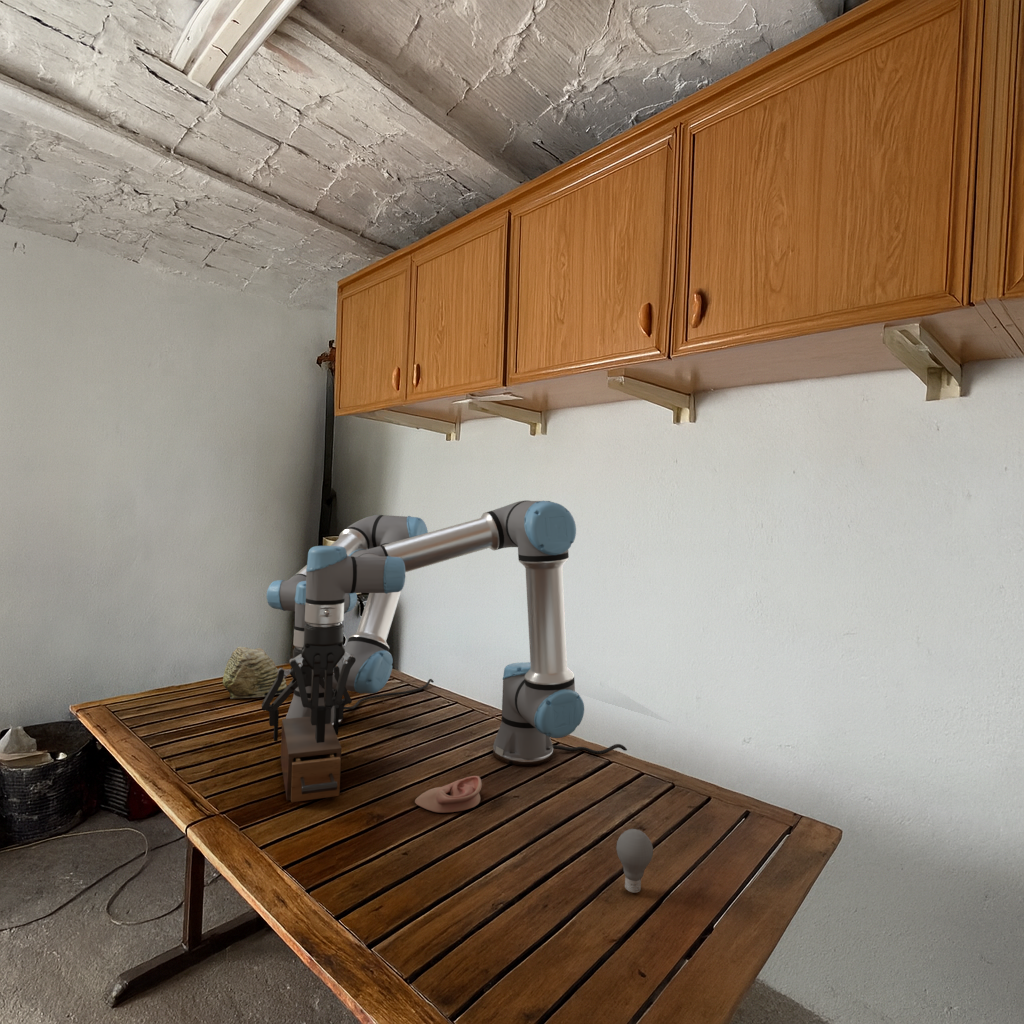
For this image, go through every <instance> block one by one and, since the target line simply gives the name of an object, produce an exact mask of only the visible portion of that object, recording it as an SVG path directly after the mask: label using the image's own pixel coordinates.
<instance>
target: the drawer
mask: <svg viewBox="0 0 1024 1024" xmlns="http://www.w3.org/2000/svg"><path fill="white" fill-rule="evenodd" d="M340 761H341V762H342V758H341V759H340V757H334V754H324V755H315V756H307V757H298V758H293V762H292V781H291V800H290V802H291V803H298V802H304V801H305V802H306V801H311V800H319V799H325V798H326V799H327V798H332V797H339V796H340V793H339V787H340V788H341V772H340Z"/></svg>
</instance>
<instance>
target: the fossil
mask: <svg viewBox="0 0 1024 1024" xmlns="http://www.w3.org/2000/svg"><path fill="white" fill-rule="evenodd" d="M278 669H279V668H278V667H277V665H276V663H275V662H274V660H273V659H272V658H271V657H270V656H269V655H268V654H267V653H266V652H265V650H264V649H263V648H260V647H258V648H251V647H247V646H246V647H245V646H238V647H237V648H236V649H235V650H233V651H232V653H231V656H230V657H229V659H228V660H227V663H226V666H225V668H224V671H223V675H222V676H223V677H222V685H223V687H224V688H225V690H226V691H228V693H229V698H230V699H250V698H265V697H266V696H267V694H268V692H269V690H270V688H271V687H272V685H273V683H274V681H275V679H276V678H277V674H278ZM287 686H288V685H287V680H286V678H285V679H283V681H282V683H281V685H280V687H279V689H278V690H277V692H276V694H275V696H276V695H280V694H281V693H282V692H283V691H284V690H285V688H286V687H287Z"/></svg>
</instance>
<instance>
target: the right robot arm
mask: <svg viewBox="0 0 1024 1024" xmlns="http://www.w3.org/2000/svg"><path fill="white" fill-rule="evenodd" d="M576 536H577V525H576V521H575V518H574V516H573V515H572V513H571V512H570V511H569V510H568V509H567V508H566V507H565V506H564V505H562V504H560V503H557V502H554V501H551V500H526V499H525V500H519V501H516V502H512V503H510V504H507V505H504V506H501V507H498V508H495V509H493V510H489V511H485V512H483V513H482V514H481V517H479V518H476V519H472V520H469V521H465V522H462V523H458V524H454V525H450V526H447V527H444V528H443V527H442V528H440V529H436V530H433V531H428V533H425V534H421V535H418V536H414V537H411V538H407V539H403V540H400V541H396V542H392V543H389V544H385V545H382V546H379V547H375V548H371V549H367V550H366V549H360V550H356V551H353V552H352V553H351V554H349V556H347V553H346V549H345V548H344V547H340V546H330V545H315V546H312V547H310V549H309V550H308V552H307V562H306V565H307V568H306V603H305V622H307V623H308V624H306V625H305V628H304V646H303V648H302V650H301V654H300V655H298V656H297V657H295V658H293V657H291V658H290V659H289V665H290V667H291V668H293V670H294V671H295V674H296V679H297V683H298V688H299V692H300V697H301V701H302V705H303V707H305V708H306V707H307V708H310V709H311V717H310V721H311V724H312V725H316V731H315V739H316V742H317V743H320V742H324V741H325V724H330V722H331V709H332V707H333V706H334V705H339V704H340V703H341V700H342V699H343V697H344V696H343V693H344V689H345V686H346V682H347V679H348V675H349V672H350V669H351V667H352V666H353V664H354V663H355V661H356V659H355V657H354V656H353V655H350V654H348V653H346V652H345V649H344V647H343V646H344V624H343V622H344V621H345V614H344V599H345V598H344V597H345V593H356V594H369V593H385V594H387V593H391V592H400V591H401V590H402V591H403V589H404V587H405V583H406V578H405V575H406V576H407V574H406V572H407V573H408V572H409V573H410V572H412V571H415V570H419V569H422V568H425V567H430V566H432V565H436V564H439V563H443V562H447V561H449V560H454V559H456V558H460V557H463V556H466V555H470V554H473V553H477V552H480V551H483V550H487V549H490V550H492V551H498V550H501V549H507V548H517V555H518V556H517V557H518V558H517V559H518V562H519V563H520V564H521V565H522V566H523V567H524V568H525V585H526V586H525V587H526V606H527V623H528V625H527V627H528V641H529V642H528V643H529V644H528V645H529V661H527V662H525V661H523V662H513V663H509V664H507V665H506V666H505V667H504V669H503V676H502V696H501V697H502V699H501V722H500V725H499V728H498V731H497V732H496V736H495V739H494V742H493V745H492V747H493V748H492V754H493V756H494V757H495V758H496V759H497V760H499V761H501V762H503V763H506V764H509V765H513V766H520V767H522V766H523V767H531V766H532V767H533V766H539V765H544V764H546V763H548V762H549V761H551V760H552V759H553V757H554V750H560V751H565V752H579V751H580V752H581V751H583V752H587V753H589V754H593V755H604V754H608V753H610V752H612V751H613V750H616V749H621V750H623V751H628V749H627V747H626V746H625V745H623V744H621V743H615V744H612V745H611V746H609V747H607V748H605V749H602V750H595V749H591V748H590V747H585V746H575V747H568V746H563V745H557V744H553V742H552V739H562V738H565V737H567V736H569V735H571V734H572V733H574V732H575V731H576V729H577V727H578V726H580V724H581V723H582V721H583V719H584V714H585V702H584V701H583V698H582V697H581V695H580V694H579V693H578V692H577V691H576V687H575V686H576V685H575V673H574V672H573V671H572V670H571V669H570V668H569V667H568V657H567V656H568V653H567V633H566V632H567V631H566V614H565V611H566V610H565V591H564V572H563V571H564V569H563V568H564V567H563V566H564V565H565V564H566V562H568V560H569V559H570V557H569V556H570V555H569V550H570V548H571V547H572V544H573V543H574V542H575V540H576ZM402 591H401V592H402ZM342 657H343V660H342V662H343V666H342V669H341V672H340V676H339V680H338V683H337V687H336V690H335V694H334V697H333V698H332V683H333V668H334V667H335V666H336V665H337V664H338V662H339V661H340V660H341V658H342ZM303 659H304V660H305V661H306V663H307V664H308V665H309V667H310V668H311V669H312V684H311V700H309V699H308V697H307V693H306V688H305V684H304V679H303V675H302V671H301V668H300V667H302V665H303V663H302V660H303ZM320 670H325V689H324V706H318V701H319V677H320Z"/></svg>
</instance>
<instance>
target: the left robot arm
mask: <svg viewBox="0 0 1024 1024" xmlns="http://www.w3.org/2000/svg"><path fill="white" fill-rule="evenodd" d="M427 527H428V526H427V524H426V522H425V521H424V519H422V517H417V516H411V515H407V516H405V515H404V516H403V515H389V514H388V515H387V514H374V515H369V516H366V517H364V518H361V519H359V520H357V521H355V522H353V523H351V524H350V525H348V526H347V527H346V528H345V529H343V530H342V531H341V532H340V533H339V535H338V539H336V540H335V541H334V542H333V543H331V544H330V545H329V546H340V547H344V548H345V549H346V553H347V556H349V554H351V553H352V552H353V551H356V550H360V549H366V550H367V549H371V548H375V547H379V546H382V545H385V544H389V543H392V542H396V541H400V540H403V539H407V538H411V537H414V536H418V535H421V534H425V533H429V530H428V528H427ZM306 568H307V564H306V565H305V566H303V567H302V568H301V569H300V570H299V571H297V572H296V573H295V574H294V575H293V576H291V577H290V578H289V579H287V580H285V579H277V580H273V581H272V582H271V583H270V584H269V586H268V587H267V590H266V601H267V604H268V606H269V607H270V608H271V609H275V610H281V611H283V612H285V611H286V612H294V627H293V644H292V645H293V646H294V648H293V649H292V658H295V657H297V656H298V655H300V654H301V650H302V648H303V646H304V628H305V625H306V624H308V623H307V622H305V603H306ZM407 574H408V572H406V575H405V579H406V578H407ZM402 591H403V589H402V590H401V591H400V592H391V593H387V594H385V593H368V596H367V598H366V602H365V605H364V608H363V611H362V614H361V617H360V620H359V624H358V626H357V630H356V633H354V634H352V635H350V636H348V639H347V642H346V645H343V647H344V649H345V652H346V653H348V654H350V655H353V656H354V657H355V659H356V661H355V663H354V664H353V666H352V667H351V669H350V672H349V675H348V679H347V682H346V686H345V689H344V693H343V696H342V700H341V703H340V704H339V705H334V706H333V707H332V709H331V723H332V725H333V728H334V730H335V733H336V736H338V735H339V726H340V725H342V723H343V722H344V713H345V712H344V711H345V710H346V711H348V710H349V711H351V710H355V709H356V708H357V707H358V705H360V703H362V702H364V701H368V700H372V699H377V698H383V697H389V696H391V697H392V696H398V695H399V696H400V695H406V694H411V693H415V692H419V691H422V690H424V689H427V688H428V687H429V685H430V683H434V681H435V680H433V679H432V678H429V679H428V680H427V682H426V684H425V685H423V686H421V687H418V688H413V689H409V690H404V691H397V692H387V693H381V694H376V693H379V692H380V691H381V690H382V689H383V688H384V687H385V686H386V684H387V683H388V681H389V679H390V677H391V675H392V671H393V664H394V660H393V656H392V654H391V652H390V645H389V644H388V643H387V639H388V637H389V633H390V630H391V626H392V623H393V620H394V617H395V614H396V611H397V607H398V603H399V600H400V597H401V594H402ZM344 598H345V599H344V615H345V614H347V613H350V612H351V611H352V610H353V609H354V608H355V607H356V605H357V603H358V593H345V597H344ZM342 660H343V657H342V658H341V660H340V661H339V662H338V664H337V665H336V666H335V667H334V668H333V683H332V698H333V697H334V694H335V690H336V687H337V683H338V680H339V676H340V672H341V669H342V666H343V662H342ZM302 663H303V665H302V667H300V668H301V671H302V675H303V679H304V684H305V688H306V693H307V697H308V699H309V700H311V684H312V669H311V668H310V667H309V665H308V664H307V663H306V661H305V660H304V659H303V660H302ZM289 675H290V676H291V678H292V680H291V681H290V682H289V683H288V685H287V687H286V688H285V690H284V691H283V692H282V693H280V694H278V696H277V697H276V699H274V697H275V696H276V695H277V694H276V692H277V690H278V689H279V687H280V685H281V683H282V681H283V679H285V680H286V679H287V677H288V676H289ZM324 689H325V670H320V677H319V701H318V706H324ZM349 692H351V693H352V692H354V693H357V694H369V696H365V697H363V698H360V699H359V700H358V701H356V703H355V704H354V705H352V706H346V705H350V704H352V702H353V701H352V698H351V695H350V694H349ZM292 693H293V695H292V696H293V697H292V699H291V702H290V704H289V708H288V711H287V713H286V715H285V719H290V718H301V717H311V709H310V708H307V707H306V708H305V707H303V705H302V701H301V697H300V692H299V688H298V683H297V679H296V674H295V671H294V670H293V668H292V667H291V668H284V667H282V666H280V667H279V668H278V674H277V678H276V679H275V681H274V683H273V685H272V687H271V688H270V690H269V692H268V694H267V696H265V697H264V699H263V701H262V703H261V710H262V711H263V712H264V711H266V712H268V714H269V715H268V716H269V718H268V723H269V724H268V725H269V726H270V727H273V742H278V741H279V721H280V720H279V719H280V716H279V715H280V711H279V708H280V707H281V706H282V705H283V703H284V702H285V701H286V700H287V699H288V698H289V697H290V696H291V694H292ZM275 694H276V695H275ZM370 694H371V695H370ZM372 694H375V695H372ZM343 697H344V698H343ZM273 699H274V701H273ZM272 701H273V702H272Z"/></svg>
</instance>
